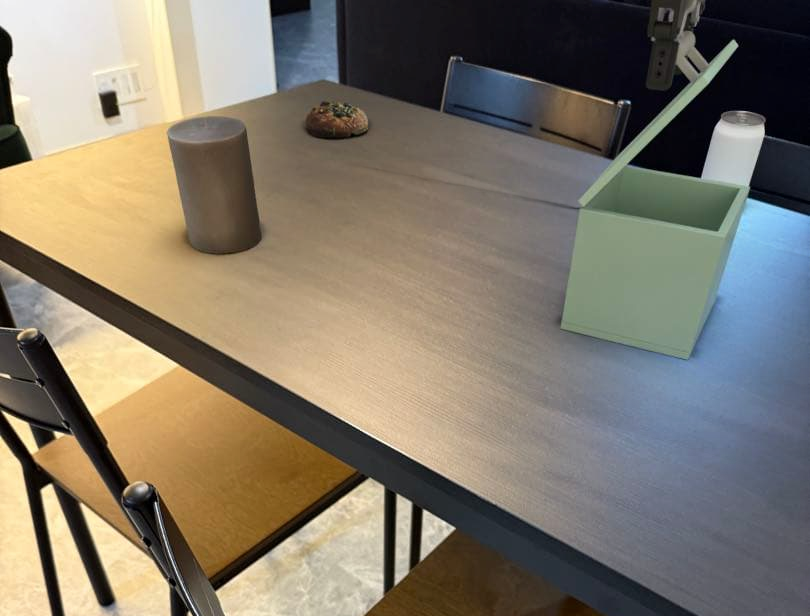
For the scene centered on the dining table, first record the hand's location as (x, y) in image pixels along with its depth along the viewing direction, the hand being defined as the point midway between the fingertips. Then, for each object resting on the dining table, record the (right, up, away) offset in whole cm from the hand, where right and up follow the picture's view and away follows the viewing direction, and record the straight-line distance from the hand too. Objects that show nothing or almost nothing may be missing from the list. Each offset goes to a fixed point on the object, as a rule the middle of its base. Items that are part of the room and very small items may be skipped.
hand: (665, 79), depth 72 cm
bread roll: (-36, +28, +62) cm, 77 cm away
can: (+20, +4, +37) cm, 43 cm away
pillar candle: (-49, -3, +31) cm, 58 cm away
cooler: (+2, -18, +16) cm, 24 cm away
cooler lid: (0, -3, +3) cm, 4 cm away
